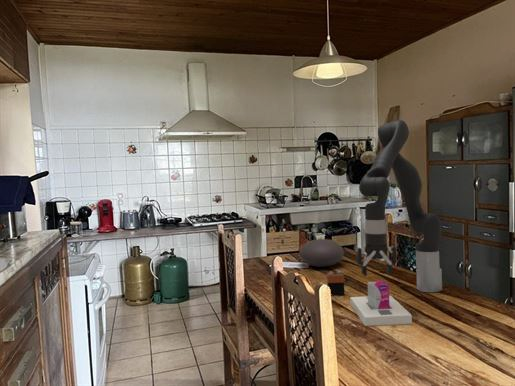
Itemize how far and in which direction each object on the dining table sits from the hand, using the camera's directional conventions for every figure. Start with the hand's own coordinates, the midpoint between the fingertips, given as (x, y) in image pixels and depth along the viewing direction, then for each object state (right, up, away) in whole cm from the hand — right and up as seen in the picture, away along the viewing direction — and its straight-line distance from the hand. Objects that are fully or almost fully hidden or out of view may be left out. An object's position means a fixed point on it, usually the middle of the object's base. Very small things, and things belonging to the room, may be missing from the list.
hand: (376, 275), depth 146 cm
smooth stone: (-8, -11, +78) cm, 79 cm away
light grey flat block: (+1, -14, +1) cm, 14 cm away
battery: (-10, -14, +26) cm, 31 cm away
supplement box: (+1, -15, +1) cm, 15 cm away
